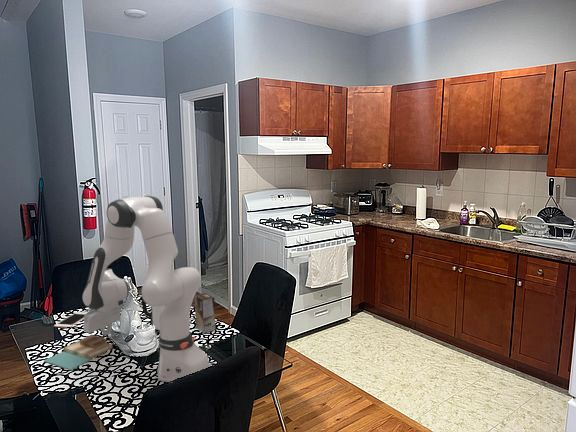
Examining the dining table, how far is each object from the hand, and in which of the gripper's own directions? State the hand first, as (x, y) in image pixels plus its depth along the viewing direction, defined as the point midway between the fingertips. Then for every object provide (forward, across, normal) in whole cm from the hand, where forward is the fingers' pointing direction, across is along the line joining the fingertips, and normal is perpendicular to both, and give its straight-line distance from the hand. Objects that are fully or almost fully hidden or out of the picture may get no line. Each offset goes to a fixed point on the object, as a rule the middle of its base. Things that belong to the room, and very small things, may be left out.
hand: (106, 334), depth 187 cm
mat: (+3, -20, 0) cm, 20 cm away
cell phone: (+4, +10, +35) cm, 37 cm away
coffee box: (+4, +30, -31) cm, 43 cm away
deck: (+3, -10, 0) cm, 10 cm away
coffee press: (+4, +21, -13) cm, 25 cm away
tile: (+1, -7, 0) cm, 7 cm away
